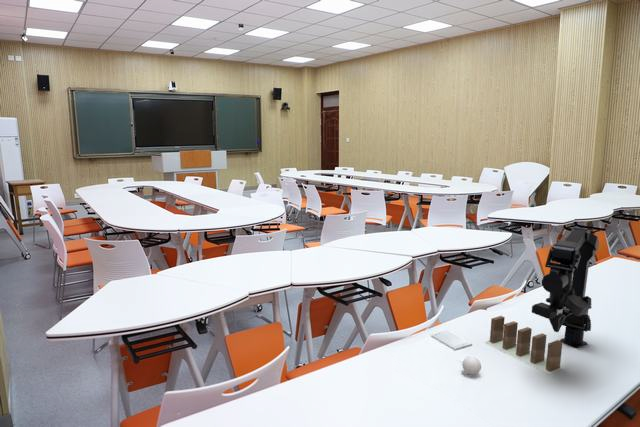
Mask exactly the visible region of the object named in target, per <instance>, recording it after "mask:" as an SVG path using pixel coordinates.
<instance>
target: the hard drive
mask: <svg viewBox="0 0 640 427" xmlns="http://www.w3.org/2000/svg"><path fill="white" fill-rule="evenodd" d="M430 337H431V338H432V339H434V340H436V341H438V342H440V343H441V344H443V345H445V346H446V347H448V348H450V349H451V350H454V351H455V352H456V351H459V350H462V349H466V348H469V347H472V346H473V344H472V343H471V342H469V341H467V340H465V339H463V338H462V337H460V336H458V335H457V334H454V333H453V332H451V331H450V330H443V331H440V332H437V333H433V334H430Z"/></svg>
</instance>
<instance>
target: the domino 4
mask: <svg viewBox="0 0 640 427" xmlns="http://www.w3.org/2000/svg"><path fill="white" fill-rule="evenodd" d="M546 346H547V334H545V333H538V334H536V335H533V336H532V335H531V346H530V351H531V358H530V362H531V363H533V364H536V363H539V362H541V361H544V357H545V356H546V355H545V354H546ZM545 358H546V357H545Z"/></svg>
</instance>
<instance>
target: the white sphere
mask: <svg viewBox="0 0 640 427" xmlns="http://www.w3.org/2000/svg"><path fill="white" fill-rule="evenodd" d="M459 362H462V363H461V365H462V369H463V370H464V372H466V374H468V375H470V376H473V375H474V376H475V375H477V374H479V373H480V371H481V369H482V365H481V362H480V360H479V359H478V358H477V357H476V356H471V355H470V356H466V357H465V358H464V359H463V360H462V361H460V360H459Z"/></svg>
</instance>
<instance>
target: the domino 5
mask: <svg viewBox="0 0 640 427" xmlns="http://www.w3.org/2000/svg"><path fill="white" fill-rule="evenodd" d="M563 343H564V342H562V341H560V340H559V339H556V340H554V341H551V342H548V344H547V349H546V350H547V351H546V352H547V353H546V358H547V360H546V370H547V371H550V372H551V371H554V370H556V369H558V368H560V365H561V361H562V353H563V352H562V351H563Z"/></svg>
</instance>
